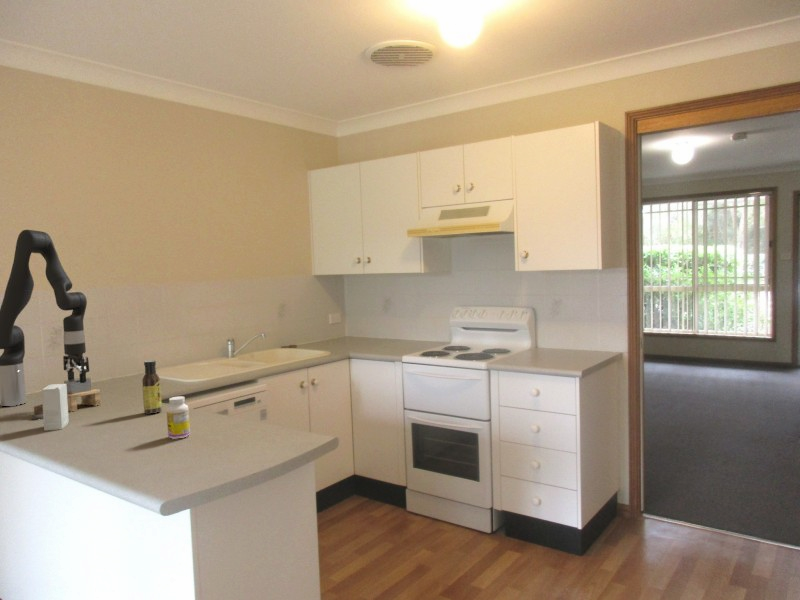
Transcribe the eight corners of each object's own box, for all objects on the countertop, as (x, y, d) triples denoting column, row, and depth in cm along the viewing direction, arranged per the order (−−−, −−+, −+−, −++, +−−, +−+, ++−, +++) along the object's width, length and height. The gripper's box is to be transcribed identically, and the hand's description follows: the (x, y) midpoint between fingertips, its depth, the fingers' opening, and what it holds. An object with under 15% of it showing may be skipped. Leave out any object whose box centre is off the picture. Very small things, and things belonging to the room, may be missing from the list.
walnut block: (34, 417, 225) (33, 406, 225) (43, 414, 229) (42, 404, 229) (43, 417, 224) (42, 406, 224) (51, 414, 228) (50, 404, 228)
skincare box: (51, 425, 212) (48, 384, 211) (70, 423, 213) (67, 382, 213) (43, 431, 204) (40, 389, 203) (62, 429, 205) (59, 387, 204)
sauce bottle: (162, 413, 223) (159, 361, 222) (144, 415, 220) (141, 363, 219) (161, 409, 229) (158, 359, 228) (143, 412, 226) (140, 360, 225)
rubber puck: (30, 419, 222) (30, 415, 222) (41, 417, 225) (41, 413, 225) (35, 421, 220) (35, 417, 220) (47, 418, 223) (46, 414, 223)
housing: (84, 389, 243) (83, 377, 242) (91, 390, 240) (90, 378, 240) (65, 393, 236) (64, 381, 235) (71, 394, 233) (70, 381, 233)
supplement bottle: (168, 435, 193) (166, 397, 192) (189, 432, 195) (187, 394, 194) (168, 441, 186) (165, 401, 186) (190, 438, 189) (187, 398, 188)
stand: (57, 409, 236) (56, 393, 235) (86, 402, 246) (85, 387, 246) (71, 412, 231) (70, 396, 230) (100, 405, 241) (99, 389, 240)
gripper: (93, 341, 236) (96, 381, 237) (73, 340, 243) (76, 378, 244) (75, 344, 230) (77, 385, 231) (55, 342, 237) (58, 382, 238)
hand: (77, 381), depth 238 cm, fingers open, 8 cm apart
